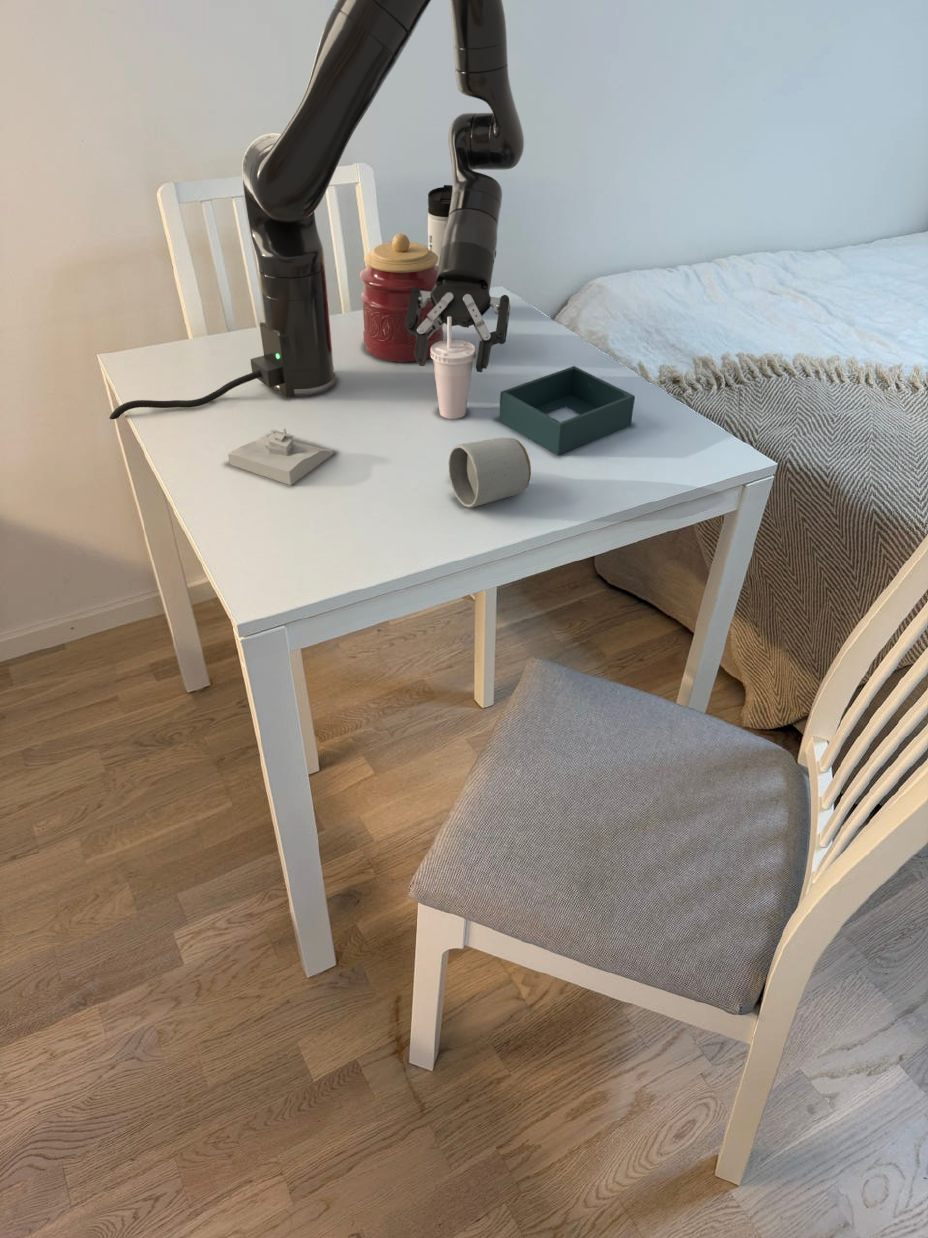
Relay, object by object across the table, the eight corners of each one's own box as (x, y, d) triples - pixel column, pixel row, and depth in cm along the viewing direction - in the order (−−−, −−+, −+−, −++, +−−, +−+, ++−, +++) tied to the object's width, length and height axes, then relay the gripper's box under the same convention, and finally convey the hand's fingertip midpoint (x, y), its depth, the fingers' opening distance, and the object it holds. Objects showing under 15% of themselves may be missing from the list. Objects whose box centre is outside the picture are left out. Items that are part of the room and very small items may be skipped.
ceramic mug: (533, 501, 109) (537, 446, 104) (476, 519, 106) (477, 462, 101) (489, 464, 116) (491, 410, 112) (434, 479, 113) (434, 425, 108)
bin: (557, 455, 118) (560, 425, 115) (498, 420, 126) (500, 391, 123) (630, 425, 125) (635, 395, 122) (571, 394, 132) (573, 365, 130)
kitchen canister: (409, 324, 152) (406, 216, 140) (459, 348, 144) (461, 235, 133) (348, 344, 145) (340, 232, 133) (398, 370, 138) (394, 254, 126)
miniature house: (339, 445, 119) (337, 419, 117) (308, 487, 111) (305, 461, 109) (257, 433, 122) (253, 408, 119) (221, 474, 113) (216, 448, 111)
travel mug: (465, 305, 159) (468, 185, 146) (462, 319, 154) (464, 196, 141) (431, 303, 159) (430, 183, 146) (426, 317, 154) (425, 194, 141)
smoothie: (429, 403, 129) (428, 308, 120) (472, 402, 130) (475, 307, 121) (431, 423, 125) (431, 326, 116) (477, 422, 125) (479, 326, 116)
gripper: (412, 235, 120) (393, 351, 118) (517, 243, 118) (498, 362, 116) (422, 262, 127) (404, 372, 126) (520, 271, 125) (503, 382, 124)
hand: (450, 367), depth 121 cm, fingers open, 7 cm apart
